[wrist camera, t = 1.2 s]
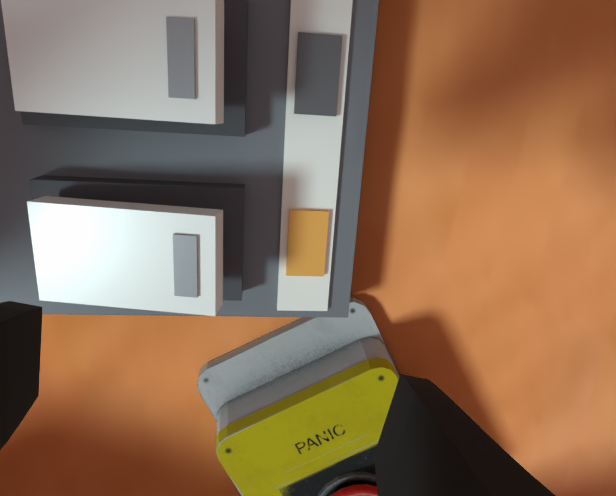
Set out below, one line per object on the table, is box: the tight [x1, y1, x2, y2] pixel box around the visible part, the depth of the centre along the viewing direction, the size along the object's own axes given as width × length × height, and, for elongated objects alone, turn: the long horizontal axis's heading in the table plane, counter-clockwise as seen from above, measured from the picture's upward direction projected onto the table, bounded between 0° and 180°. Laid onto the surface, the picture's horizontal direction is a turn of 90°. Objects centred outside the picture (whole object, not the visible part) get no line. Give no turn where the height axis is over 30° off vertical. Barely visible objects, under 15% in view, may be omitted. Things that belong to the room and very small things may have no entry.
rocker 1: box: [1, 0, 224, 124], centre depth 14 cm, size 6×4×1 cm, turn 87°
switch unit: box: [0, 0, 379, 318], centre depth 16 cm, size 17×20×4 cm
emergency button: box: [197, 297, 400, 496], centre depth 22 cm, size 9×4×15 cm
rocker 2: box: [27, 196, 223, 316], centre depth 16 cm, size 6×4×1 cm, turn 87°
